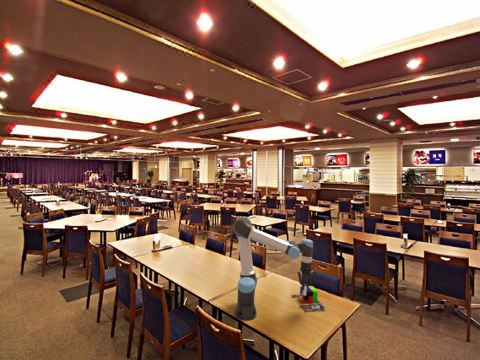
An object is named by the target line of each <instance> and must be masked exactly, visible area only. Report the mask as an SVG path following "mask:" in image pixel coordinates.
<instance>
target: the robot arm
mask: <svg viewBox="0 0 480 360" xmlns="http://www.w3.org/2000/svg"><path fill="white" fill-rule="evenodd" d="M232 230H233V233H234V234H235V236H236V238H237V239H238V247H239V248H238V249H239V256H240V257H239V258H240V268H241V270H240V271H239V278H240V279H238V282H237V300H236V301H237V303H236V305H235V308H234V316H235V318H236V319H238V320H242V321H251V320H253V319H255V318H257V307H256V304H255V293H256V292H255V291H256V288H257V284H258V277H257V273H256V270H254V267H253V266H254V265H253V257H252V256H253V255H252V245H251V244H252V243H251V240H252V241H255V242H257V243H259V244H261V245H263V246H266V247H268V248H270V249H273V250H276V251H278V252H280V253H283V254H285V255H288V256H289V258H291V259H293V260H294V259H298V258H299V257H300V268H299V269H298V270H297V271H296V273H297V275H298V281H299V283H298V284H300V286H302V290H303V295H306V290H308V286H312V284H311V283H312V281H313V277H314V275H315V273H316V272H315V271H314V270H312V268H313V267H312V266H313V263H312V262H313V251H314V241H313V240H311V239H308V238H303V239H302V240H301V241H295V240H294V241H293V240H283V239H281V238H278V237H276V236H273V235H271V234H269V233H266V232H265V231H261V230H259V229H258V228H257V229H256V228H255V226H253V225H252V221H251V220H250V218H248V217H247V216H240V217H237V219H236V220H235V221H234V222H233V224H232ZM300 255H301V256H300Z"/></svg>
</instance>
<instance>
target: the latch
mask: <svg viewBox="0 0 480 360" xmlns="http://www.w3.org/2000/svg"><path fill="white" fill-rule="evenodd" d="M310 309H311V310H313V309H320V306H319V305H314V306H311V307H310Z"/></svg>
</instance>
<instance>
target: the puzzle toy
mask: <svg viewBox="0 0 480 360" xmlns="http://www.w3.org/2000/svg"><path fill="white" fill-rule="evenodd" d="M299 294H300V297H299V299H300V300H301V302H302V304H315V303H317V299H318V297H319V295H318V289H317V290H316V288H315V287H314V286H313V285H309V286H308V290H306V295H303V290H302V285H300V286H299ZM318 300H319V299H318Z"/></svg>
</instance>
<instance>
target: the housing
mask: <svg viewBox="0 0 480 360" xmlns="http://www.w3.org/2000/svg"><path fill="white" fill-rule="evenodd" d="M290 296H291V298H300V293H299V294H297V293H296V294H291V295H290ZM314 305H319V306H320V309H313V310H311V309H310V307H311V306H314ZM299 308H300V310H301V311H302V312H303V313H320V312H327V310H326V309H325V305H324V304H323V303H322V302H321V301H320V300H319V299H317V303H315V304H304V303H300V304H299Z"/></svg>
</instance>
